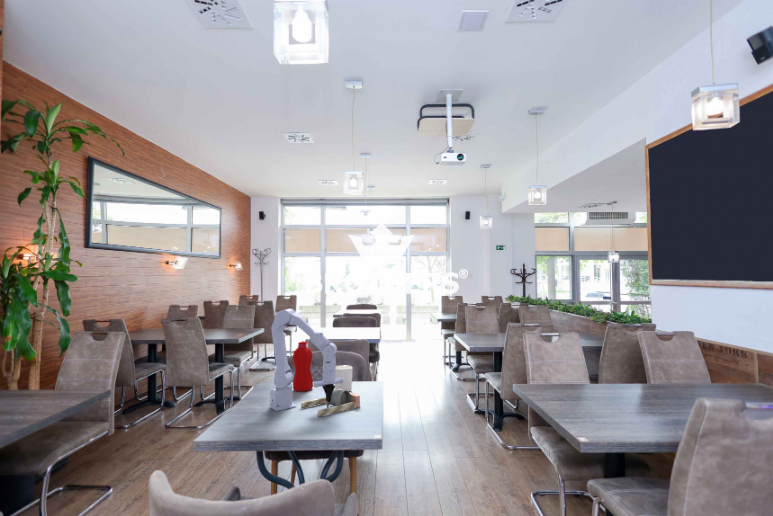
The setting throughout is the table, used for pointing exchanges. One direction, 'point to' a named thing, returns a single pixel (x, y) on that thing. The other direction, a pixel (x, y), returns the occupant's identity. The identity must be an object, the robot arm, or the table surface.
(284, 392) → the robot arm
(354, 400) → the end stop
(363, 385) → the table surface
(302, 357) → the water bottle
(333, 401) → the ceramic mug
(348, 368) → the candle holder
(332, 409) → the rails
